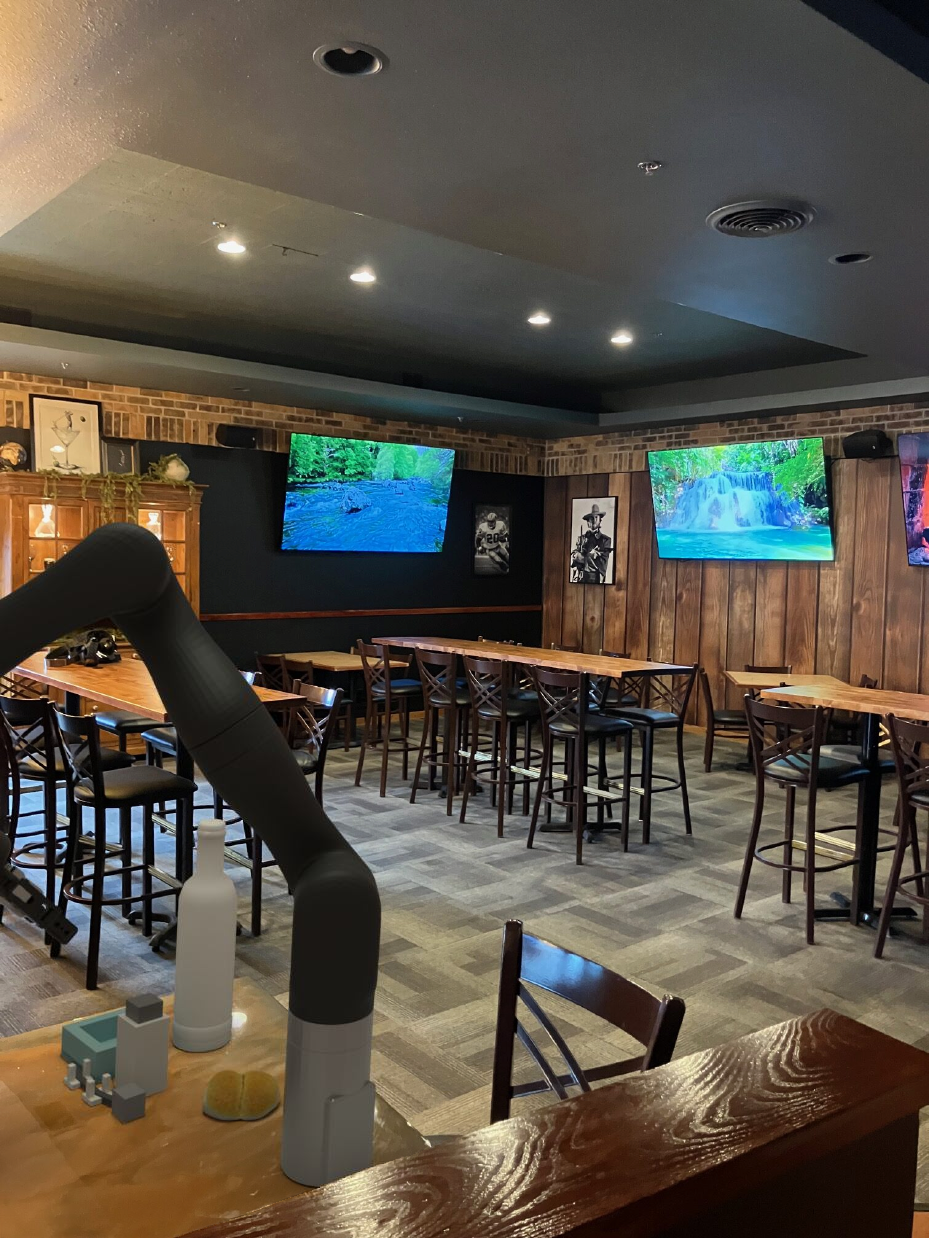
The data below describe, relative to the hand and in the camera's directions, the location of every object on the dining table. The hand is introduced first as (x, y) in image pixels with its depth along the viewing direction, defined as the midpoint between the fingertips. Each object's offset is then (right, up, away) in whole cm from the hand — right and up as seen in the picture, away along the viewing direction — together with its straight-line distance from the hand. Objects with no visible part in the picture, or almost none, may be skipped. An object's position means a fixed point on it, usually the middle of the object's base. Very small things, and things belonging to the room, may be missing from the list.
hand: (54, 926), depth 111 cm
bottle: (+11, -23, +23) cm, 34 cm away
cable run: (+3, -23, +6) cm, 24 cm away
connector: (+7, -23, +9) cm, 25 cm away
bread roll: (+19, -24, +7) cm, 32 cm away
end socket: (+1, -22, +16) cm, 27 cm away
